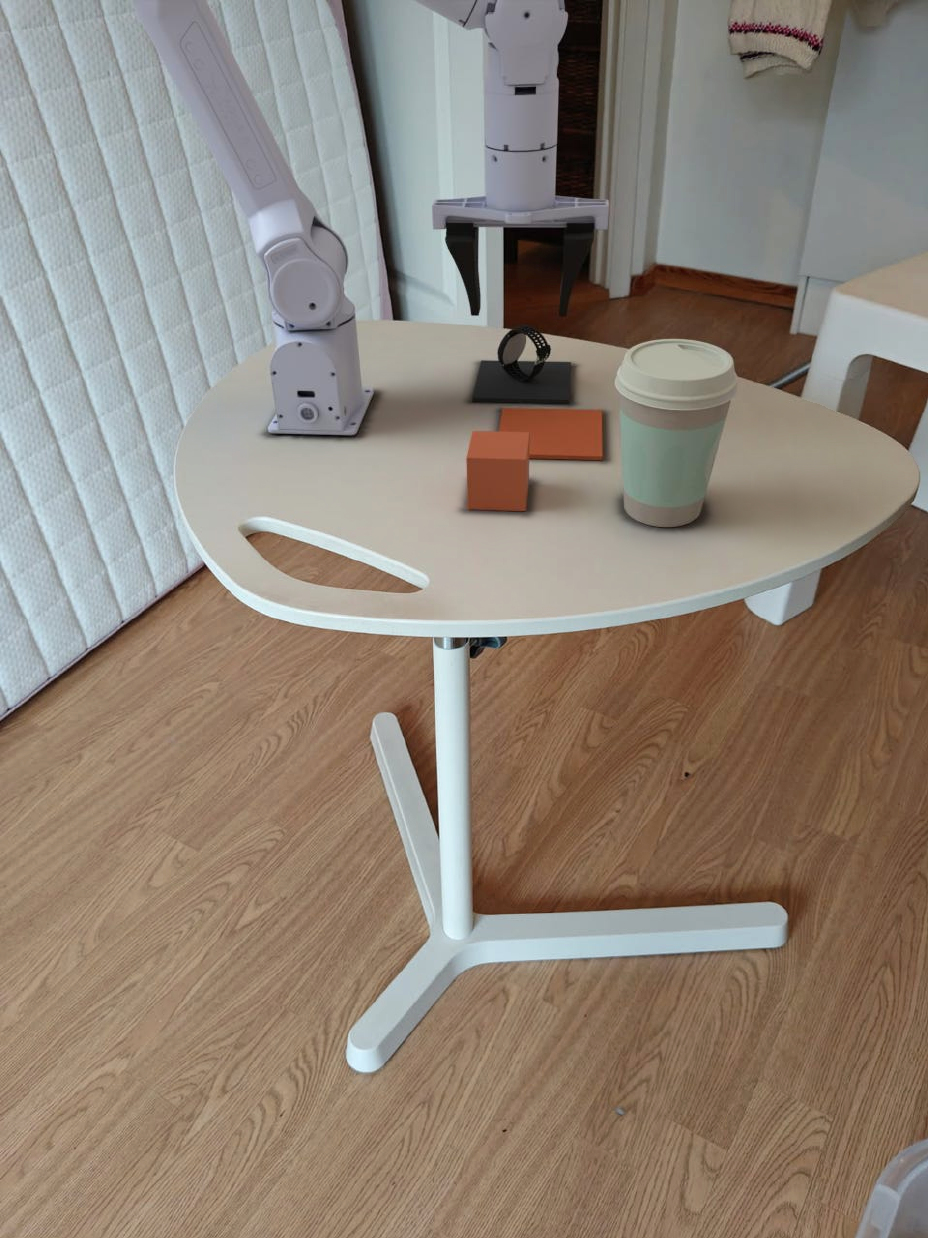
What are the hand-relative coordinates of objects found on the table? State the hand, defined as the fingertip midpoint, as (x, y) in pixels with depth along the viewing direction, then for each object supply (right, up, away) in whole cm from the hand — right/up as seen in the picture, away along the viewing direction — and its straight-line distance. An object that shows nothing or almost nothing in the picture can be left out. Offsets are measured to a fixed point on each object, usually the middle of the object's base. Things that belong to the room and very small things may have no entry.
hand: (519, 312), depth 86 cm
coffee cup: (+10, -19, -11) cm, 24 cm away
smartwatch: (+1, -4, +8) cm, 9 cm away
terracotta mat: (+3, -11, -1) cm, 11 cm away
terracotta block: (-2, -17, -9) cm, 20 cm away
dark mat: (+1, -4, +8) cm, 9 cm away
